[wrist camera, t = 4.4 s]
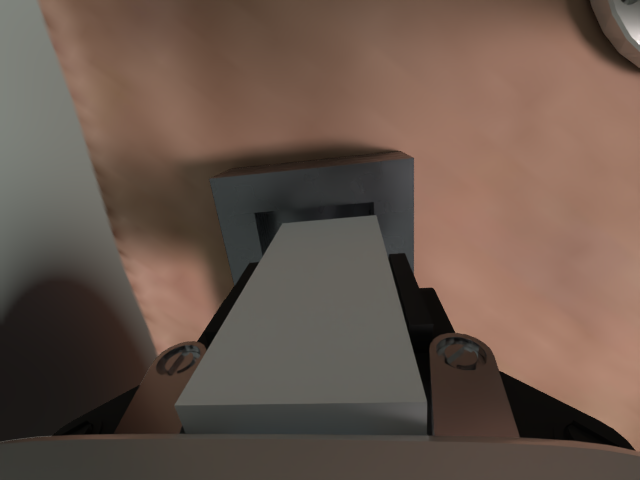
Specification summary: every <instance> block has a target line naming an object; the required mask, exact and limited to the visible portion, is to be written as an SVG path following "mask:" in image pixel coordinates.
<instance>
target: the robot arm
mask: <svg viewBox="0 0 640 480" xmlns="http://www.w3.org/2000/svg"><path fill="white" fill-rule="evenodd" d="M590 2H591V7H592V9H593V11H594V13H595V16H596V18H597V20H598V22H599V25H600V27H601V29H602V31H603V33H604V34H605V36H606V37H607V38H608V39H609V41H610V42H611V43H612V45H613V46H614V47H615V48H616V50H617V51H618V52H619V53H620V54H621V55H623V56H624V57H625V58H627V59H628V60H629V61H631V62H632V63H633V64H635V65H636V66H638V67H639V68H640V0H590ZM388 260H389V264H390V267H391V271H392V275H393V278H394V282H395V286H396V289H397V293H398V297H399V300H400V304H401V308H402V311H403V315H404V319H405V322H406V326H407V330H408V333H409V337H410V341H411V344H412V348H413V352H414V355H415V359H416V363H417V366H418V370H419V374H420V377H421V381H422V385H423V388H424V392H425V396H426V399H427V436H426V435H337V434H186V433H185V431H184V428H183V426H182V423H181V421H180V418H179V416H178V414H177V411H176V409H175V406H174V405H175V403H176V402H177V400H178V398H179V397H180V395H181V393H182V392H183V390H184V388H185V387H186V385H187V383H188V382H189V380H190V378H191V376H192V375H193V373H194V371H195V370H196V368H197V366H198V365H199V363H200V361H201V360H202V358H203V356H204V355H205V353H206V351H207V350H208V348H209V346H210V344H211V343H212V341H213V339H214V338H215V336H216V334H217V333H218V331H219V329H220V328H221V326H222V324H223V323H224V321H225V319H226V318H227V316H228V314H229V312H230V311H231V309H232V307H233V306H234V304H235V302H236V301H237V299H238V297H239V296H240V294H241V292H242V291H243V289H244V287H245V286H246V284H247V282H248V280H249V279H250V277H251V275H252V274H253V272H254V270H255V269H256V267H257V265H258V264H259V262H253V263H249V264H248V266H247V267H246V269H245V270H244V272H243V273H242V275H241V277H240V278H239V280H238V281H237V283H236V284H235V286H234V287H233V289H232V290H231V292H230V293H229V295H228V297H227V298H226V299H225V300H224V301H223V303H222V304H221V306H220V308H219V309H218V311H217V312H216V314H215V315H214V317H213V318H212V320H211V321H210V323H209V324H208V326H207V327H206V329H205V330H204V332H203V334H202V335H201V337H200V338H199V340H198V341H197V342H195V341H190V342H183V343H179V344H177V345H174V346H172V347H170V348H168V349H167V350H165V351H163V352H162V353H161V354H160V355H159V356H157V357H156V359H155V360H154V361H153V363H152V364H151V366H150V368H149V369H148V371H147V373H146V375H145V377H144V379H143V381H142V383H141V384H140V385H138V386H137V387H135V388H133V389H131V390H129V391H127V392H126V393H123V394H122V395H120V396H118V397H116V398H114V399H112V400H110V401H109V402H107V403H105V404H103V405H101V406H99V407H97V408H96V409H94V410H92V411H90V412H88V413H86V414H84V415H83V416H81V417H79V418H77V419H75V420H73V421H72V422H70V423H68V424H67V425H65V426H64V427H62V428H61V429H60V430H58V431H57V432H56V433H55V434H54V435H52V436H44V437H32V438H24V439H16V440H9V441H4V442H0V480H640V452H639V451H636V450H635V449H634V448H633V447H632V446H631V445H630V443H629V442H628V441H627V440H626V439H625V438H624V437H622V436H621V435H620V434H619V433H618V432H616V431H615V430H614V429H612V428H611V427H609V426H607V425H606V424H604V423H602V422H601V421H599V420H597V419H595V418H593V417H591V416H589V415H587V414H585V413H583V412H581V411H579V410H577V409H575V408H573V407H571V406H569V405H567V404H565V403H563V402H561V401H559V400H557V399H555V398H553V397H551V396H549V395H547V394H545V393H543V392H541V391H539V390H537V389H535V388H533V387H531V386H529V385H527V384H525V383H523V382H521V381H519V380H517V379H515V378H513V377H511V376H509V375H507V374H505V373H503V372H501V371H499V369H498V366H497V363H496V360H495V357H494V355H493V353H492V351H491V349H490V348H489V347H488V346H487V345H486V344H485V343H483V342H482V341H480V340H478V339H477V338H474V337H472V336H469V335H466V334H460V333H455V331H454V329H453V327H452V325H451V323H450V321H449V319H448V317H447V315H446V313H445V311H444V309H443V306H442V304H441V302H440V300H439V298H438V296H437V294H436V292H435V290H434V289H433V288H419V287H418V284H417V282H416V279H415V277H414V274H413V272H412V269H411V267H410V264H409V262H408V259H407V257H406V254H405V253H397V254H389V258H388Z"/></svg>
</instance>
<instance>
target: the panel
mask: <svg viewBox="0 0 640 480" xmlns="http://www.w3.org/2000/svg"><path fill="white" fill-rule="evenodd" d="M209 180H210V184H211V189H212V193H213V197H214V201H215V205H216V210H217V214H218V218H219V222H220V227H221V231H222V235H223V239H224V244H225V248H226V252H227V256H228V261H229V265H230V269H231V273H232V278H233V282H234V286H235V284H236V283H237V281H238V280H239V278H240V277H241V275H242V273H243V272H244V270H245V269H246V267H247V266H248V264H249V263H253V262H260V260H261V259H262V257H263V255H264V254H265V252H266V250H267V248H268V247H269V245H270V243H271V242H272V240H273V238H274V237H275V235H276V233H277V232H278V230H279V228H280V227H281V225H282V223H292V222H303V221H315V220H326V219H338V218H349V217H360V216H372V215H376V216H377V220H378V223H379V227H380V231H381V234H382V238H383V242H384V245H385V249H386V253H387V256H388V258H389V254H397V253H405V254H406V257H407V259H408V262H409V264H410V267H411V269H412V272H413V274H414V158H413V157H411V156H409V155H407V154H405V153H403V152H401V151H397V152H387V153H378V154H368V155H358V156H349V157H339V158H330V159H320V160H310V161H301V162H291V163H282V164H272V165H262V166H253V167H243V168H234V169H229V170H227V171H225V172H223V173H221V174H218V175H216V176H214V177H212V178H210V179H209Z"/></svg>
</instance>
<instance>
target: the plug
mask: <svg viewBox="0 0 640 480" xmlns="http://www.w3.org/2000/svg"><path fill="white" fill-rule="evenodd" d="M174 406H175V409H176V411H177V414H178V416H179V418H180V421H181V423H182V426H183V428H184V431H185V433H186V434H337V435H426V436H427V399H426V396H425V392H424V388H423V385H422V381H421V377H420V374H419V370H418V366H417V363H416V359H415V355H414V352H413V348H412V344H411V341H410V337H409V333H408V330H407V326H406V322H405V319H404V315H403V311H402V308H401V304H400V300H399V297H398V293H397V289H396V286H395V282H394V278H393V275H392V271H391V267H390V264H389V260H388V256H387V253H386V249H385V245H384V242H383V238H382V234H381V231H380V227H379V223H378V220H377V216H376V215H372V216H360V217H349V218H338V219H326V220H315V221H303V222H292V223H282V225H281V227H280V228H279V230H278V232H277V233H276V235H275V237H274V238H273V240H272V242H271V243H270V245H269V247H268V248H267V250H266V252H265V254H264V255H263V257H262V259H261V260H260V262H259V264H258V265H257V267H256V269H255V270H254V272H253V274H252V275H251V277H250V279H249V280H248V282H247V284H246V286H245V287H244V289H243V291H242V292H241V294H240V296H239V297H238V299H237V301H236V302H235V304H234V306H233V307H232V309H231V311H230V312H229V314H228V316H227V318H226V319H225V321H224V323H223V324H222V326H221V328H220V329H219V331H218V333H217V334H216V336H215V338H214V339H213V341H212V343H211V344H210V346H209V348H208V350H207V351H206V353H205V355H204V356H203V358H202V360H201V361H200V363H199V365H198V366H197V368H196V370H195V371H194V373H193V375H192V376H191V378H190V380H189V382H188V383H187V385H186V387H185V388H184V390H183V392H182V393H181V395H180V397H179V398H178V400H177V402H176V403H175V405H174Z"/></svg>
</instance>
